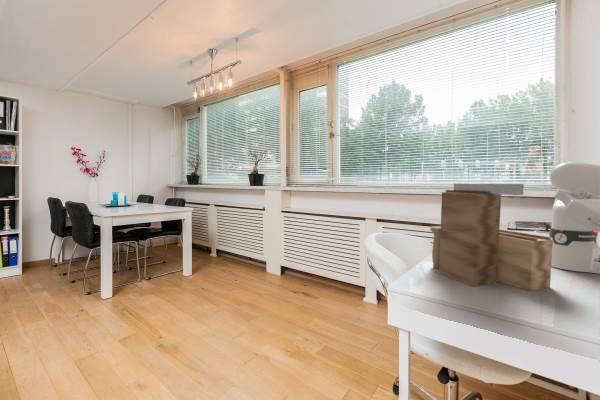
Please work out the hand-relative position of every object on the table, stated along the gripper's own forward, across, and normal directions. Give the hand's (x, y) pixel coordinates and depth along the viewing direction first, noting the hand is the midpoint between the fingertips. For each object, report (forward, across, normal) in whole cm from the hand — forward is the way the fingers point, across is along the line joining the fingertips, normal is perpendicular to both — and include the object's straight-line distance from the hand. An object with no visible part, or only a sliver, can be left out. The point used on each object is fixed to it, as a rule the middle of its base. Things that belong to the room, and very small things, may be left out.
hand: (569, 193), depth 70 cm
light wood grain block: (+1, +10, -34) cm, 35 cm away
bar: (+17, -2, -11) cm, 20 cm away
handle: (+17, -1, -44) cm, 47 cm away
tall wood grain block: (+7, -2, -38) cm, 38 cm away
